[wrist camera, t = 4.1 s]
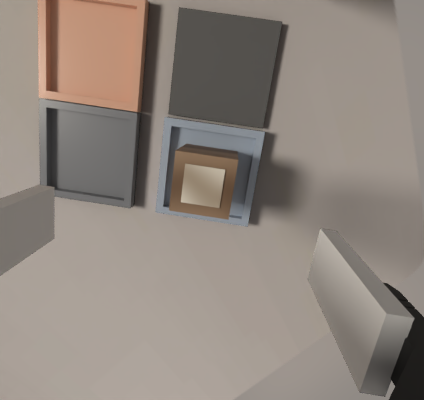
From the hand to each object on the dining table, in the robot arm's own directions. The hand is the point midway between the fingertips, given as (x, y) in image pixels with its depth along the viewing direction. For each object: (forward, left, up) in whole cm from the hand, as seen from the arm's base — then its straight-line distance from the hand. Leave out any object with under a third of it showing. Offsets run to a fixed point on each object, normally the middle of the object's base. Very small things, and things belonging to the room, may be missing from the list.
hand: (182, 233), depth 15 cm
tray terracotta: (-10, -12, -17) cm, 23 cm away
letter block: (0, 0, -16) cm, 16 cm away
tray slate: (0, 0, -17) cm, 17 cm away
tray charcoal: (0, -12, -17) cm, 20 cm away
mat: (-10, 0, -17) cm, 19 cm away
